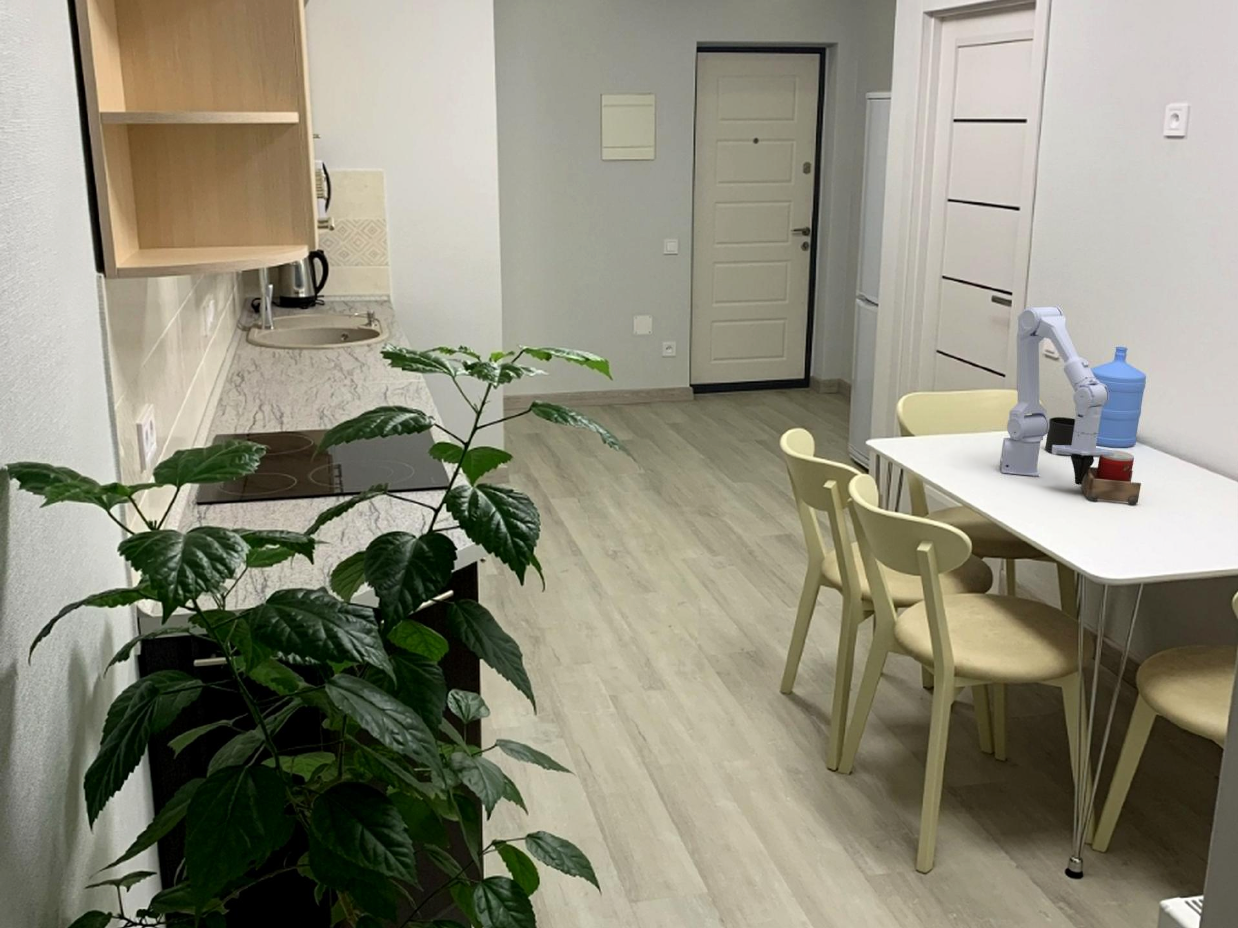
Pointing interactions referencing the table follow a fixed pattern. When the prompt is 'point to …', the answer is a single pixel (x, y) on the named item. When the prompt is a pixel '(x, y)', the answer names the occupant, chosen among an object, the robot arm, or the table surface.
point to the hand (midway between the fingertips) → (1077, 483)
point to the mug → (1059, 433)
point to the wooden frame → (1109, 488)
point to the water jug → (1120, 401)
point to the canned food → (1115, 466)
